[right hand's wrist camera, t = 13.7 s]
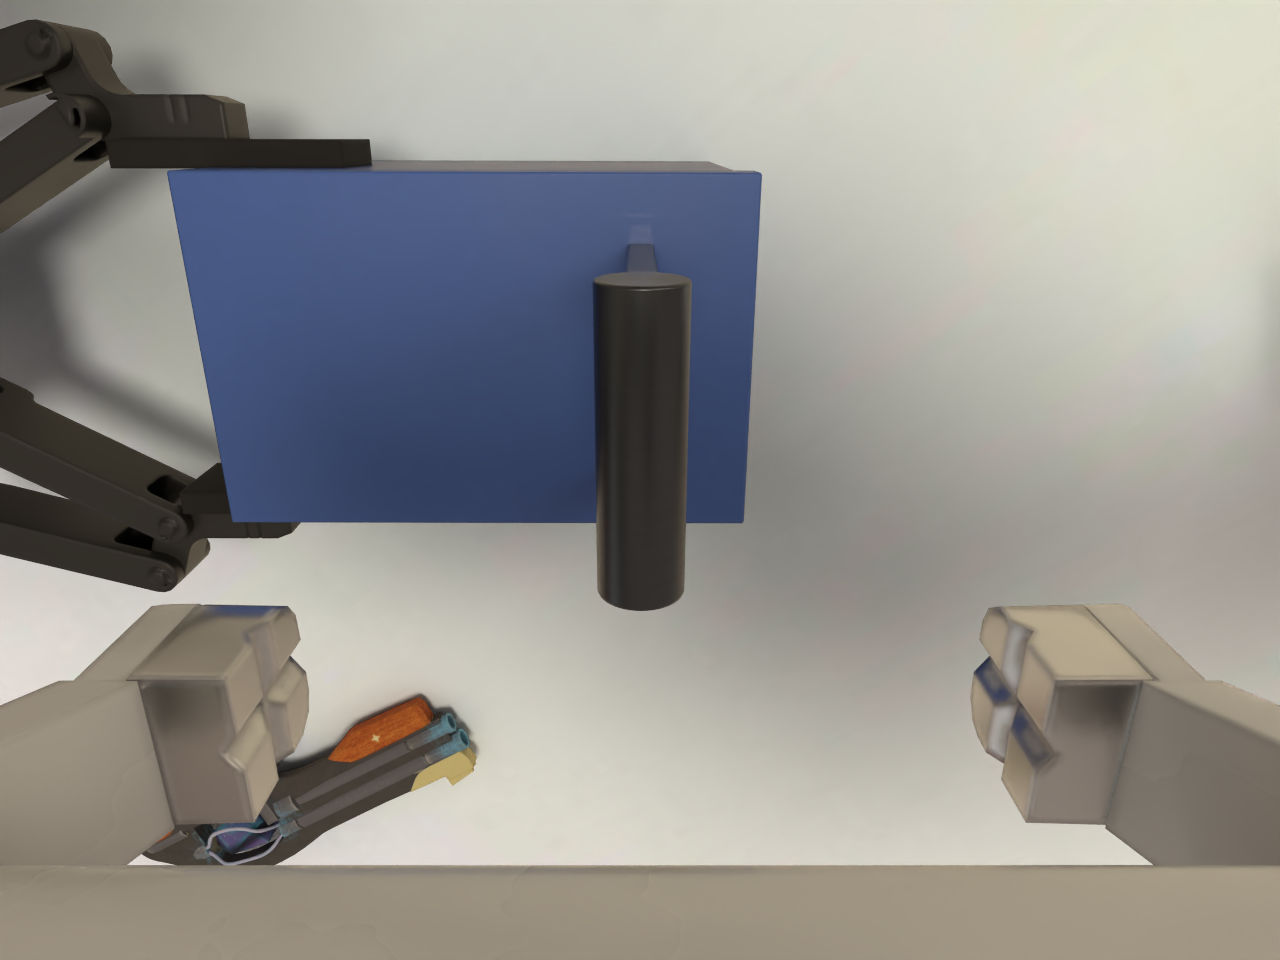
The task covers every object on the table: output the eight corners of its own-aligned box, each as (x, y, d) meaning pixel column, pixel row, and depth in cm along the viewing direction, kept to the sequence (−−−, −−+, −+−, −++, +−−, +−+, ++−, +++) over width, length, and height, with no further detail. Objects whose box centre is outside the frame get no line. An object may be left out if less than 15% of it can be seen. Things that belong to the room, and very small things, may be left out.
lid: (755, 170, 23) (824, 190, 15) (739, 507, 27) (786, 678, 18) (189, 168, 23) (-71, 187, 15) (249, 506, 27) (69, 678, 18)
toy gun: (-3, 786, 39) (130, 952, 41) (358, 599, 37) (478, 783, 39) (37, 753, 41) (160, 910, 43) (377, 577, 39) (488, 750, 41)
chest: (710, 161, 31) (735, 170, 23) (702, 420, 35) (721, 506, 27) (306, 160, 31) (190, 168, 23) (340, 419, 35) (250, 505, 27)
